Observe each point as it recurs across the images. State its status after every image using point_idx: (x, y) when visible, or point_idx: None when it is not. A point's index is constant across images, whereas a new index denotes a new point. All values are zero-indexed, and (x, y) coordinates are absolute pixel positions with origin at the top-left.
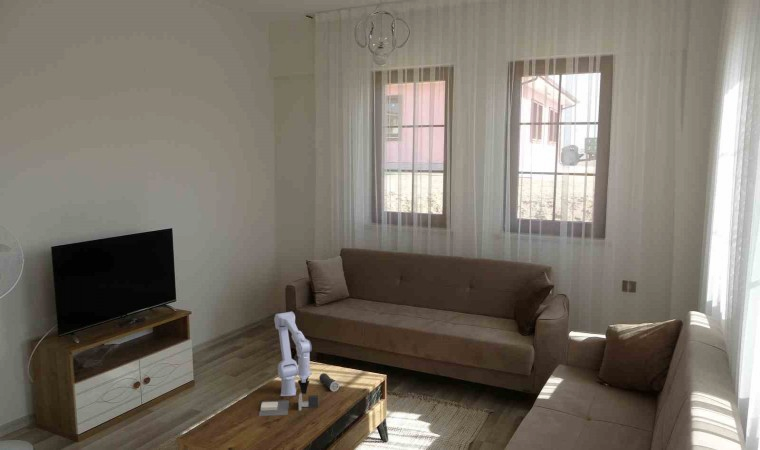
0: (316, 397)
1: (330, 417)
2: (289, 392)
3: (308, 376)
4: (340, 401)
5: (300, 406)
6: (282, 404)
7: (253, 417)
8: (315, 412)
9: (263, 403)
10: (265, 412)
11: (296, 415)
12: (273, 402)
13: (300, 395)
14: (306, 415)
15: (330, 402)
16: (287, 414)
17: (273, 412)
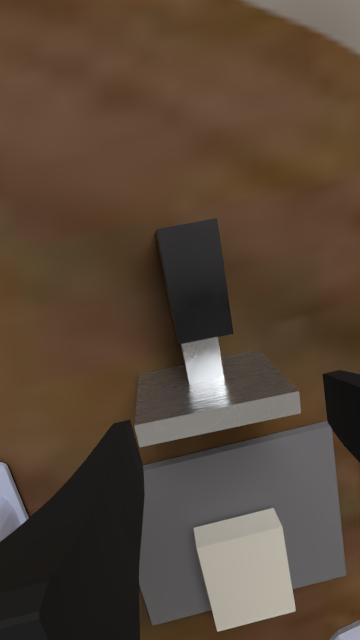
0: (219, 240)
1: (351, 77)
2: (3, 524)
3: (81, 551)
4: (9, 18)
5: (274, 369)
6: (180, 502)
7: (346, 589)
8: (266, 234)
9: (234, 619)
10: (303, 557)
11: (319, 365)
12: (211, 570)
13: (188, 425)
14: (318, 294)
15: (55, 131)
16: (328, 426)
17: (301, 516)
